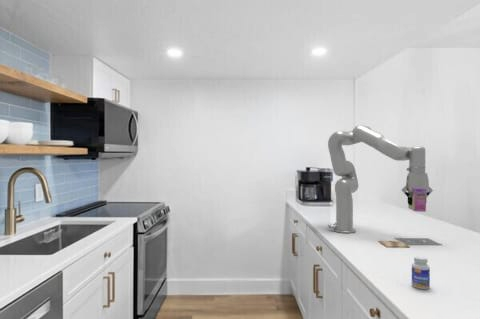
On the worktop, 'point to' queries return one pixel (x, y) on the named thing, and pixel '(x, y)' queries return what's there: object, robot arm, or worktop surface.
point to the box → (418, 200)
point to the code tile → (417, 241)
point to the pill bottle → (420, 273)
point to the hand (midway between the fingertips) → (416, 204)
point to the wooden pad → (394, 244)
